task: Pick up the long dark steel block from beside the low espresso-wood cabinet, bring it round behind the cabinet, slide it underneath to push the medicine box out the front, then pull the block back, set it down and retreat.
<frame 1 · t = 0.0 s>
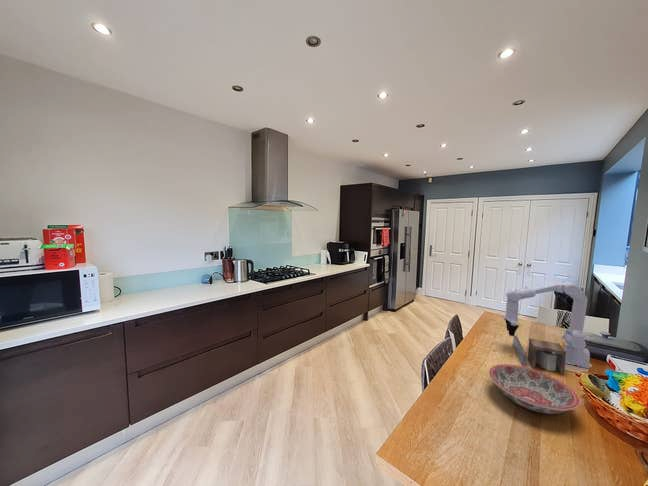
hand: (510, 333, 149), 10 cm above the table, tool pointing down, fingers open, 7 cm apart
medicine box: (544, 367, 132), on the table
steel block: (518, 354, 144), on the table
ceramic bowl: (529, 401, 106), on the table
low cabinet: (544, 366, 131), on the table
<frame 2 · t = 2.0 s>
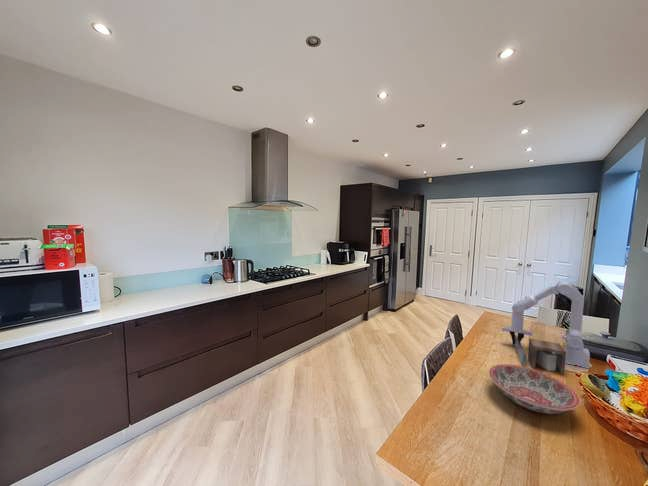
hand: (515, 344, 153), 2 cm above the table, tool pointing down, fingers closed on steel block, 2 cm apart
steel block: (518, 354, 144), on the table, touching gripper
everything else where it was.
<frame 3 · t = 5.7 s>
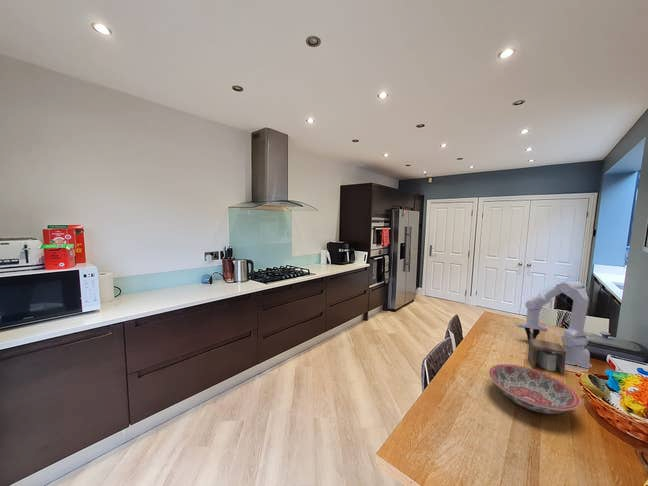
hand: (530, 340, 158), 2 cm above the table, tool pointing down, fingers closed on steel block, 2 cm apart
steel block: (532, 349, 150), on the table, touching gripper
everything else where it was.
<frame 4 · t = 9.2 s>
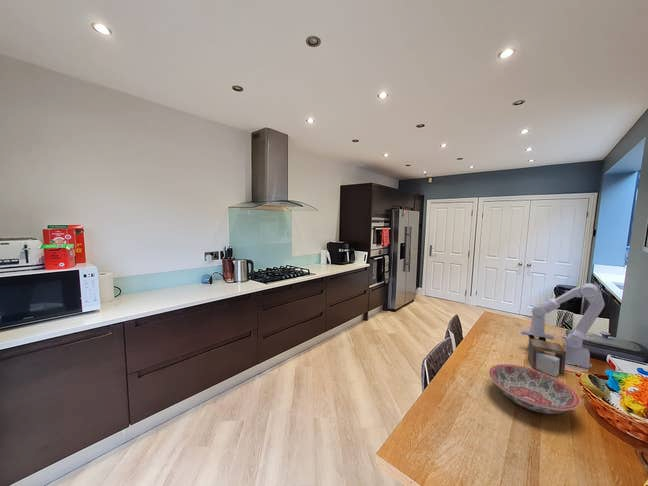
hand: (536, 348, 147), 2 cm above the table, tool pointing down, fingers closed on steel block, 2 cm apart
medicine box: (546, 372, 127), on the table, touching steel block
steel block: (535, 356, 141), on the table, touching gripper, medicine box
everything else where it was.
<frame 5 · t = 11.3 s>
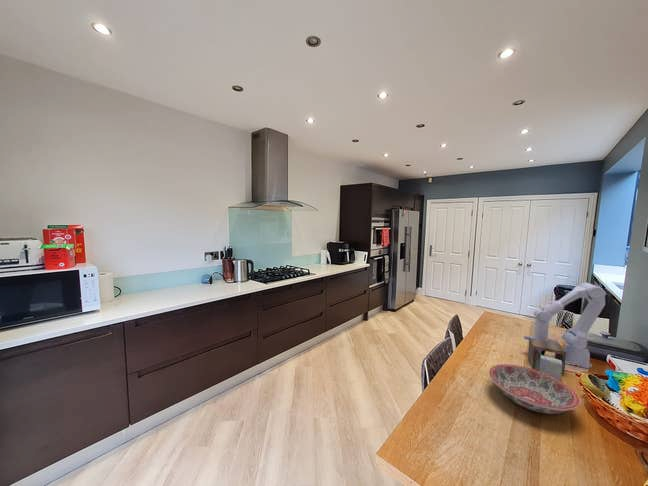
hand: (539, 353, 141), 2 cm above the table, tool pointing down, fingers closed on steel block, 2 cm apart
medicine box: (549, 376, 123), on the table, touching steel block
steel block: (538, 361, 136), on the table, touching gripper, medicine box
everything else where it was.
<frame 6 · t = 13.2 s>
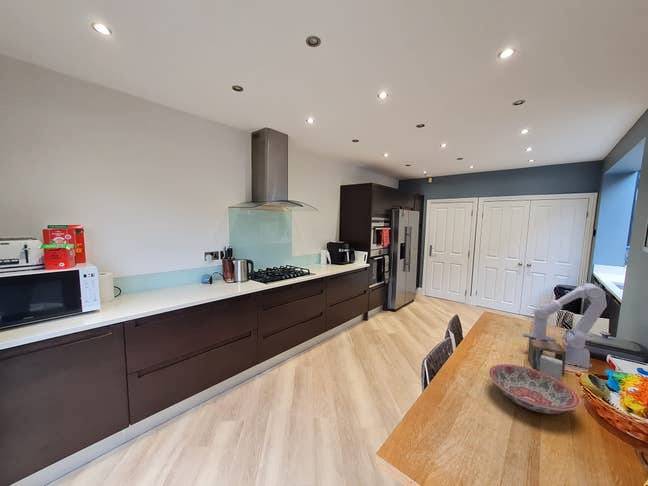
hand: (537, 351, 144), 2 cm above the table, tool pointing down, fingers closed on steel block, 2 cm apart
steel block: (537, 359, 139), on the table, touching gripper, medicine box
when the fingers open (2 cm above the table, at t = 15.1 s): steel block stays where it is, on the table.
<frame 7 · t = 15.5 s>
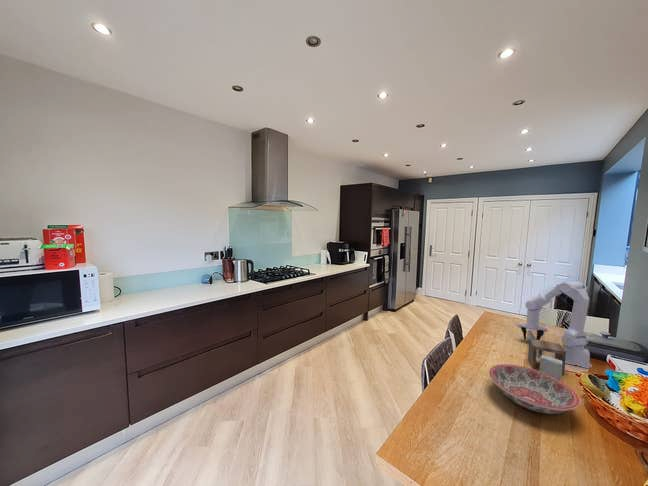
hand: (531, 340, 158), 2 cm above the table, tool pointing down, fingers open, 6 cm apart
medicine box: (550, 376, 124), on the table
steel block: (533, 348, 152), on the table
everything else where it was.
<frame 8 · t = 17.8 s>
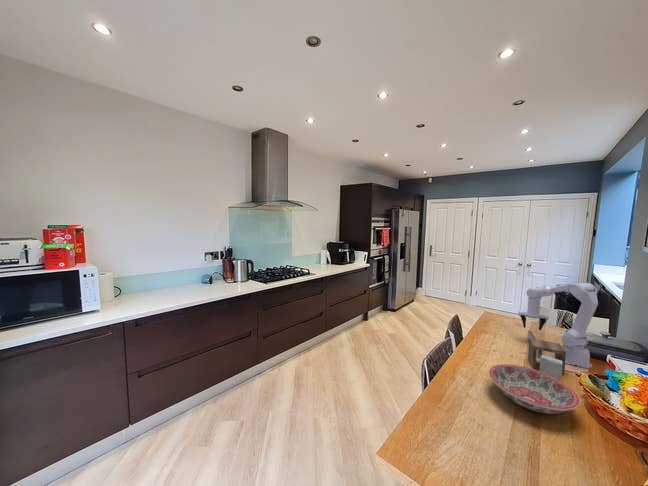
hand: (532, 328, 157), 9 cm above the table, tool pointing down, fingers open, 7 cm apart
nothing on the table moved.
at the end: medicine box inside the target area (7.3 cm from its centre), on the table; medicine box tilted 0° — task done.
